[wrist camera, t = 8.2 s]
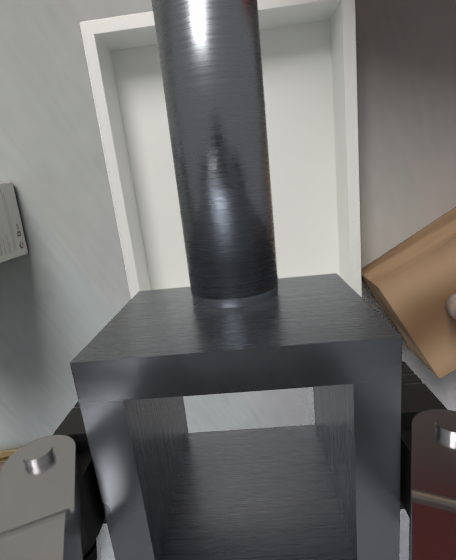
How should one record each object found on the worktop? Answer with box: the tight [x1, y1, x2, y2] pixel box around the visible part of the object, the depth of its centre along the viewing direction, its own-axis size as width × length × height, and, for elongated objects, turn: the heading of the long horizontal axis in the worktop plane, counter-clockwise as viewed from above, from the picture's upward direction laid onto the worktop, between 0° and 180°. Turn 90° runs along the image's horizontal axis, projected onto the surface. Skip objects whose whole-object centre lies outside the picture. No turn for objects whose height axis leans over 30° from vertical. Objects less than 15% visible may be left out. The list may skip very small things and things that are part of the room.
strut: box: [70, 0, 402, 560], centre depth 8 cm, size 6×16×4 cm, turn 6°
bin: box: [80, 0, 362, 299], centre depth 28 cm, size 22×18×4 cm
